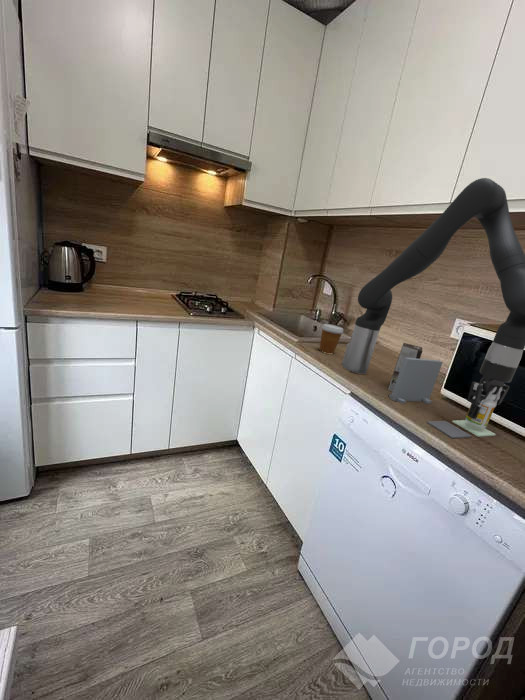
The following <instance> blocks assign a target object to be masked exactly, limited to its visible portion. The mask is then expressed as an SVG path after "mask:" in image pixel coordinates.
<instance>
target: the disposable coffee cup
mask: <svg viewBox="0 0 525 700" xmlns="http://www.w3.org/2000/svg"><path fill="white" fill-rule="evenodd" d="M343 333H344V328H343V327H341V326H338V325H334V324H329V323H323V325H322V326H321V336H320V343H319V350H321V351H323V352H326V353H335V351H336V348H337V347H338V346H337V345H338V344H339V341H340V339H341V337H342V334H343Z"/></svg>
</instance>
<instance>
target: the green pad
mask: <svg viewBox="0 0 525 700" xmlns="http://www.w3.org/2000/svg"><path fill="white" fill-rule="evenodd" d="M451 422H452V423H453V424H455V425H457V426H459V427H461V429H464V430H465V431H467V432H469V433H471V434H473V435H474V436H476V437H492V436H493V437H494V436H497V435H496V433H494V432H492V431H491V430H489V429H487V428H486V427H485V428H482V427H477V426H475V425H472V424H470V423H469V422H467V421H466V419H462V420H452V421H451Z"/></svg>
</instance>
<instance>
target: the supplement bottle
mask: <svg viewBox="0 0 525 700" xmlns="http://www.w3.org/2000/svg"><path fill="white" fill-rule="evenodd" d="M481 395H482V396H485V395H483V394H481ZM495 398H496V394H492V395H491V396H490V397H489V399H488V400H487V401H484V403H483V404H482V406H481V408H480V411H479V413H478V415H477V418H476V419H473V418H471V417H469V416H468V415H467V414H468V412H469V409H470V407H471V405H470V407H469V409H468V411H467V413H466V416H465V419H464V420H466V421H467V422H469V423H470V424H472V425H475V426H477V427H482V428H485V429H486V428H487V426H488V425H489V423H490V422H489V421H490V419H491V418H492V415H493V413H494V410H495V408H496V406H495V402H493V400H495ZM480 400H481V398H480ZM480 400H479V401H480Z"/></svg>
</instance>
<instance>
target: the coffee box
mask: <svg viewBox="0 0 525 700" xmlns="http://www.w3.org/2000/svg"><path fill="white" fill-rule="evenodd" d="M422 353H423V347H422V346H418V345H415V344H411V343H405V342H403V344H402V346H401V350H400V353H399V355H398V357H397V362H396V363H395V366H394V370H393V373H392V377H391V380H390V382H389V386H388V388H387V389H388V391H391V392H393V390H394V387H395V384H396V381H397V378H398V375H399V372H400V369H401V366H402V363H403V360H404V358H416V359H421V357H422Z"/></svg>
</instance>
